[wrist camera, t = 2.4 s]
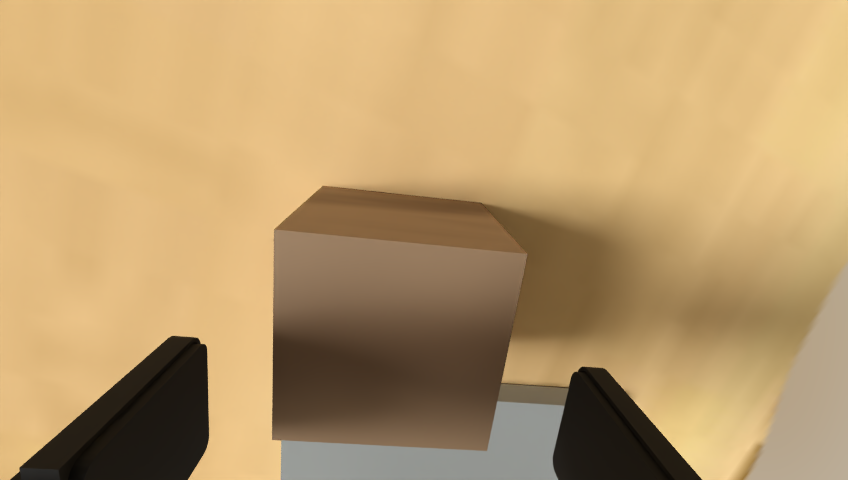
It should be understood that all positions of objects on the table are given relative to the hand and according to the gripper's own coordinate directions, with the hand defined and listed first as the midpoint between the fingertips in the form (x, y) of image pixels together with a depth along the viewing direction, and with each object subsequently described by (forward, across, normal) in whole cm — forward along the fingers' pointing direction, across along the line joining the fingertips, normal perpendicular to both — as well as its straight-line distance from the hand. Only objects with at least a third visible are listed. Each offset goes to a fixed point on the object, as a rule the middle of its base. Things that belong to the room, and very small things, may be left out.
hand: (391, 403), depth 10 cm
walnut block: (+6, 0, -1) cm, 7 cm away
